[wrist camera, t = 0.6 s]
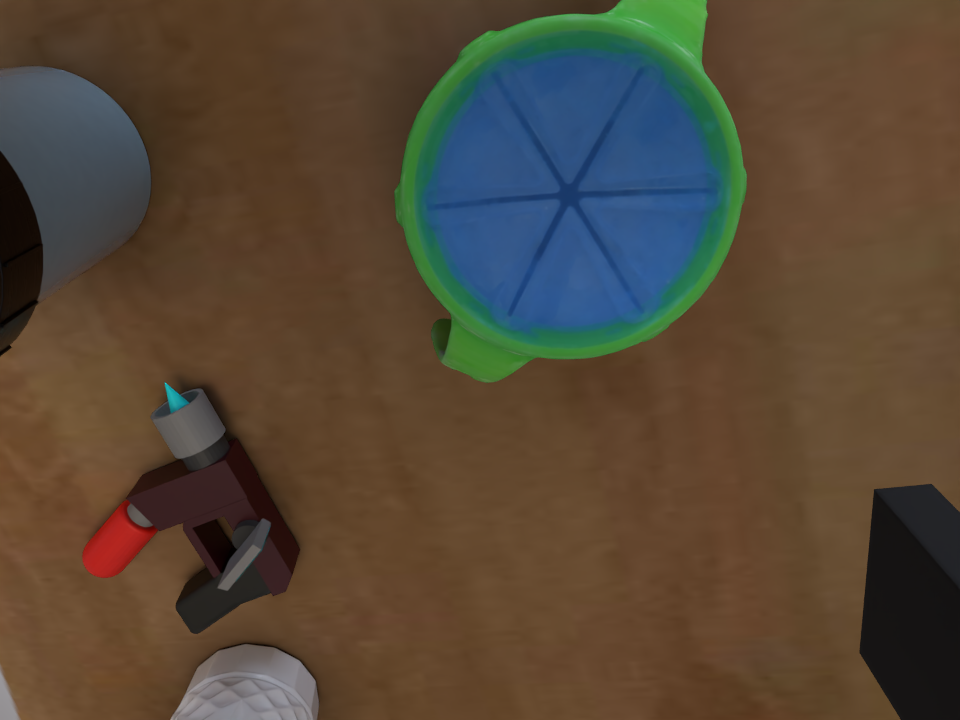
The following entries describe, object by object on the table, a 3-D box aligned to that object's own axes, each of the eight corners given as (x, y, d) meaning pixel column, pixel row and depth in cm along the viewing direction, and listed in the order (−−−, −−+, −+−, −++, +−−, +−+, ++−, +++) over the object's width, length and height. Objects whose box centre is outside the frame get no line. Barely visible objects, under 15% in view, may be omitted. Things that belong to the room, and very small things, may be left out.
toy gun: (206, 357, 39) (173, 403, 34) (325, 564, 43) (309, 629, 38) (19, 432, 40) (-37, 486, 35) (153, 627, 44) (118, 697, 40)
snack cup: (545, -109, 32) (581, -158, 23) (763, 56, 34) (878, 73, 25) (336, 239, 37) (293, 318, 27) (540, 363, 39) (566, 475, 30)
